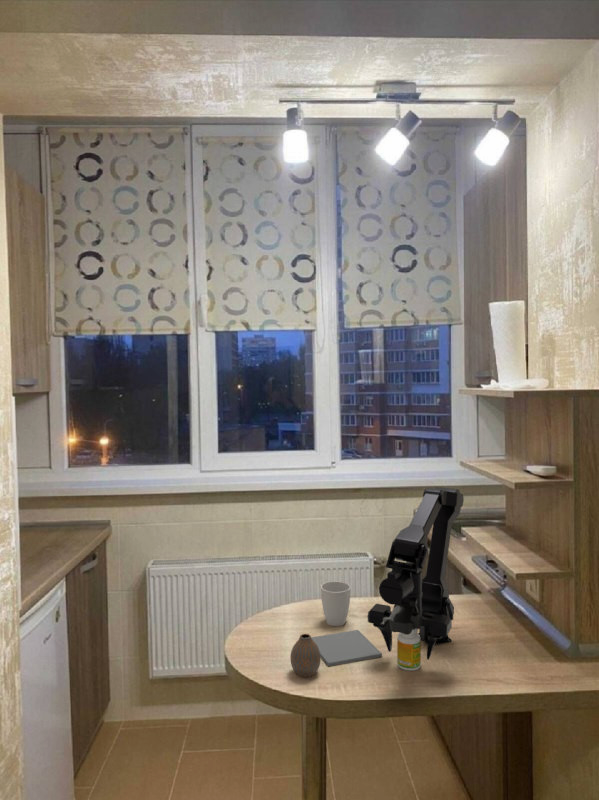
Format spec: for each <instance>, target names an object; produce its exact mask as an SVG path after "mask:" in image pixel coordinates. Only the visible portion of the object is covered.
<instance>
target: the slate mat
mask: <svg viewBox="0 0 599 800" xmlns="http://www.w3.org/2000/svg"><path fill="white" fill-rule="evenodd" d="M311 638H312V640H313V641H314V642H315V643H316V645H317V646H318V648H319V651H320V656H321V659H322V660H323V662H324V663H325V664H326V665H327V666H328V667H333V666H337V665H338V666H339V665H342V664H343V665H344V664H348V663H356V662H360V661H366V660H367V661H368V660H371V659H377V658H382V657H383V653H382V652H381V651H380V650H379V649H378V648H377V647H376V646H375V645H374V644H373V643H372V642H371V641H370V640H369V639H368V638H367V637H366V636H365V635H364V634H363V633H362V632H361V631H360V630H359V629H354V630H350V631H343V632H341V631H340V632H336V633H330V634H325V635H317V636H311Z"/></svg>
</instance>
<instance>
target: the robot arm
mask: <svg viewBox="0 0 599 800" xmlns="http://www.w3.org/2000/svg"><path fill="white" fill-rule="evenodd" d="M464 498H465V497H464V494H463V493H461V491H460V489H459V488H450V487H442V486H435V487H428V488H425V489H424V490H423V493H422V499H421V502H420V503H419V505H418V507H417V509H416V510H415V512H414V515H413V517H412V519H411V521H410V523H409V525H408V526H406V527H405V528H403V529H401V530H400V531H399V532H398V534H397V535H396V536H395V538H394V539H393V541H392V543H391V546H390V550H389V553H388V558H387V560H386V564H385V568H386V569H391V571H388V572H387V574H386V575H387V576H386V578H384V579H383V580H381V582H380V584H379V586H378V590H379V591H378V592H379V596H380V597H381V599H382V600H383V601H384V602H385V603H387V604H388V605H387V604H382V603H375V604H374V605H373V606H372V607H371V608H370V609H369V610H368V612H367V622H368V624H372V625H373V627H374V628H377V629H378V630H379V631H380V632H381V634H382V636H383V639H384V643H385V646H386V647H387V651H388V652H390V653H391V652H392V650H393V649H392V648H393V633H398V634H399V633H404V634H406V635H408V634H410V633H411V632H412V630H415V629H418V630H419V631H418V632H417V633H418V634H419V635H420V637H421V640H422V641H423V642H425V643H426V644H427V648H426V649H427V650H426V659H427V661H428V660H429V659H430V658H431V655H432V652H433V650H434V647H435V645H441V644H446V643H452V638H450V636H449V633H450V631H451V629H452V621H453V620H454V614H455V607H454V604H453V602H452V601H451V599H450V590H449V587H448V584H447V583H446V580H445V578H446V571H447V562H448V554H449V548H450V540H451V533H452V525H453V523H454V521H455V520H456V519H457V518H458V517H459V516H460V514H461V509H462V507H463V505H464V500H465V499H464ZM431 529H432V530H431ZM430 531H431V538H430V545H429V546H428V542H427V538H428V537H429V536H428V535H429V534H430ZM428 549H429V550H428ZM427 557H428V559H427ZM426 561H427V565H426V573H425V576H424V577H423V574H422V573H423V572H422V571H423V570H422V569H424V567H425V564H426ZM390 605H393V609H391V606H390Z"/></svg>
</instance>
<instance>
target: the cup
mask: <svg viewBox="0 0 599 800" xmlns="http://www.w3.org/2000/svg"><path fill="white" fill-rule="evenodd" d="M320 593H321V604H322V611H323V615H324V618H325V621H326V624H327V625H329V626H331V627H342V626H343V625H345V623H346V621H347V617H348V614H349V608H350V604H351V603H350V602H351V585H350V584H348V583H346V582H343V581H336V580H335V581H327V582H324V583H322V584H321V585H320Z"/></svg>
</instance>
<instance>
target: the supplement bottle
mask: <svg viewBox="0 0 599 800" xmlns="http://www.w3.org/2000/svg"><path fill="white" fill-rule="evenodd" d="M418 630H419V629H415V630H412V632H411V633H410V634H408V635H406V634H404V633H399V632H398V634H397V639H396V640H397V643H396V644H397V646H396V647H397V650H396V651H397V652H396V653H397V655H396V657H397V658H396V659H397V666H398V667H399V669H401V670H405V671H408V672H409V671H410V672H411V671H417V670H419V669H420V668H421V664H422V663H421V662H422V661H421V660H422V659H421V657H422V656H421V655H422V654H421V651H422V649H421V647H422V645H421V644H422V643H421V642H422V641H421V640H422V639H421V637H420V635H419V634H418V633H419V631H418Z"/></svg>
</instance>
